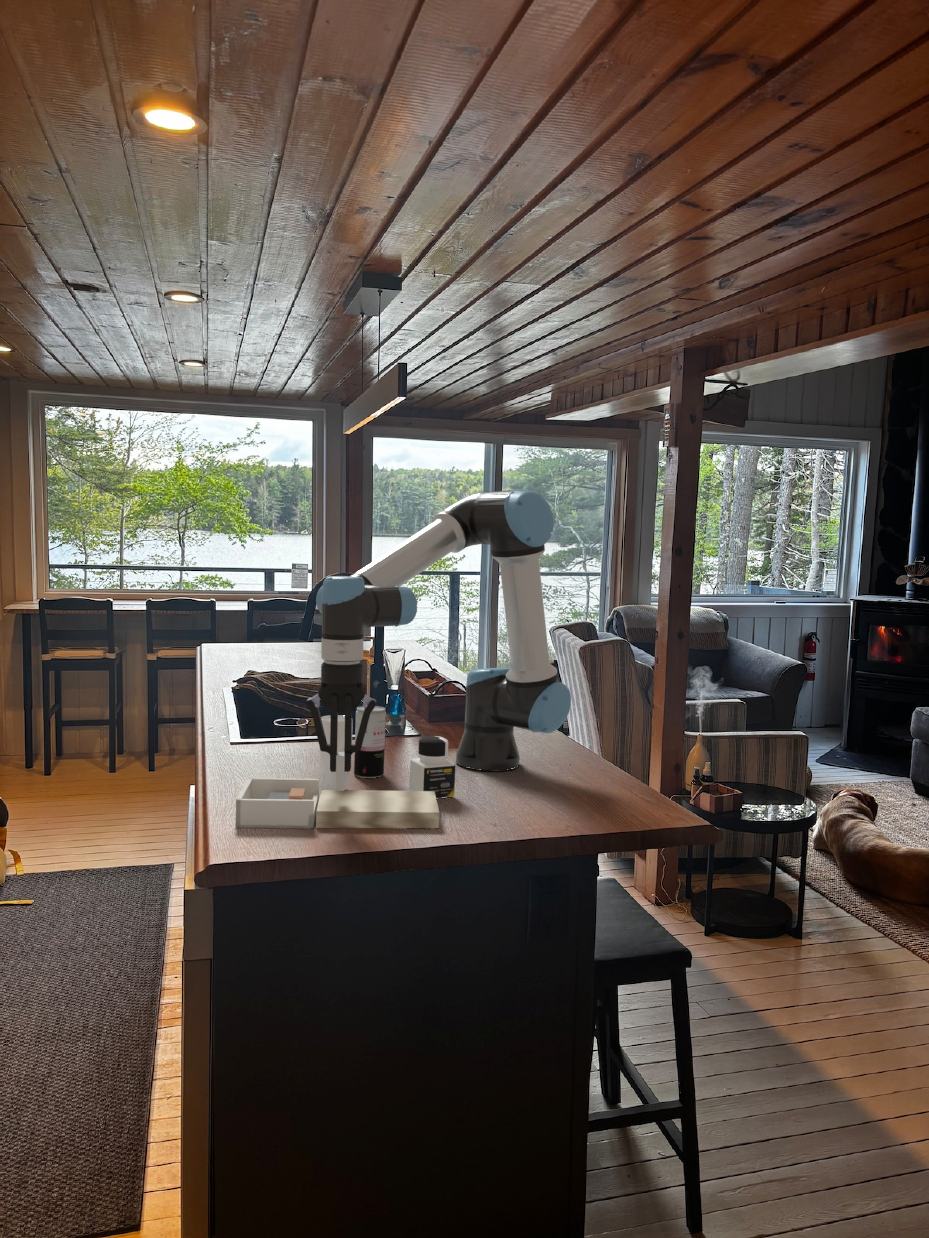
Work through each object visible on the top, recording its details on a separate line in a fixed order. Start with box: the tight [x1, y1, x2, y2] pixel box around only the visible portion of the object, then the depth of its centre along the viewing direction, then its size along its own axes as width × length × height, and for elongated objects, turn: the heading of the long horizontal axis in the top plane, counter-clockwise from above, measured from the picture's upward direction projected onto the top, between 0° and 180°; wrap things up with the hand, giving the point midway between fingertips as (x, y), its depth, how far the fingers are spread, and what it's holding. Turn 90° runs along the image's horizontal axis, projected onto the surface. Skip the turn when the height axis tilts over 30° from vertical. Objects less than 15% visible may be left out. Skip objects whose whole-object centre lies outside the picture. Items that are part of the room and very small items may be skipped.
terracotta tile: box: [289, 788, 305, 800], centre depth 159 cm, size 5×5×2 cm
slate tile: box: [268, 792, 290, 799], centre depth 165 cm, size 5×5×2 cm
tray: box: [235, 777, 320, 829], centre depth 162 cm, size 14×15×5 cm
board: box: [315, 789, 440, 830], centre depth 164 cm, size 22×14×3 cm, turn 96°
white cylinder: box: [319, 714, 354, 790], centre depth 181 cm, size 7×7×15 cm
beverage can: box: [353, 705, 387, 779], centre depth 193 cm, size 6×6×15 cm
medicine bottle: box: [408, 735, 456, 798], centre depth 180 cm, size 7×7×12 cm
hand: (340, 788), depth 161 cm, fingers closed
